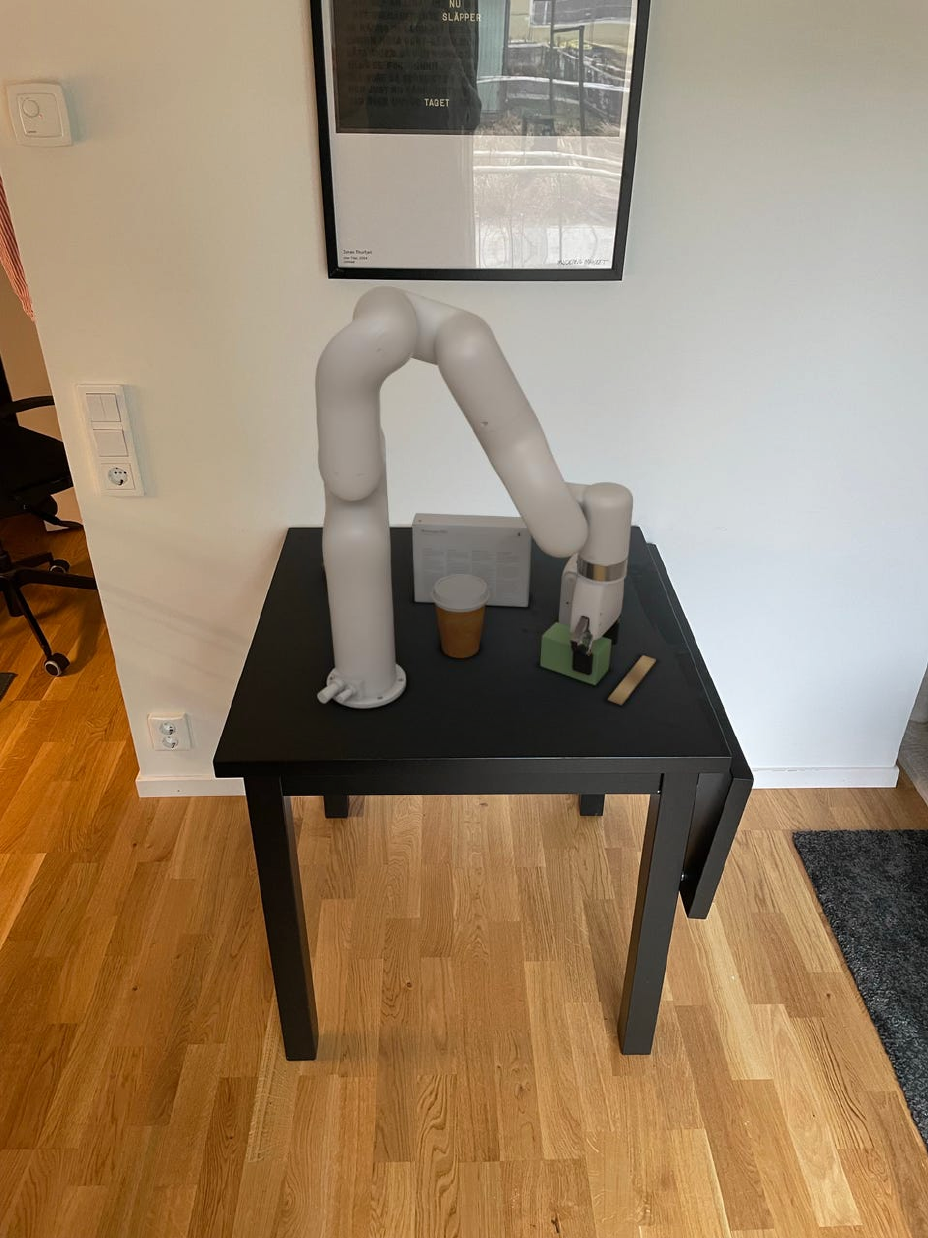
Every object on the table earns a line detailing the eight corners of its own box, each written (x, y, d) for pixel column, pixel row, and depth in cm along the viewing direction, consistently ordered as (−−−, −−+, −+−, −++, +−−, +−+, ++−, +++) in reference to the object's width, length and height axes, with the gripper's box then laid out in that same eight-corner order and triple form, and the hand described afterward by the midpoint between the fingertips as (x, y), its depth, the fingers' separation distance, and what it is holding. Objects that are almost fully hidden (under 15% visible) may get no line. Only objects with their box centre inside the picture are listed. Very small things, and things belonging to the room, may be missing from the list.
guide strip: (621, 705, 140) (622, 703, 140) (607, 700, 141) (607, 698, 141) (656, 661, 150) (656, 659, 150) (642, 656, 151) (642, 655, 151)
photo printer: (578, 631, 158) (583, 570, 151) (555, 626, 159) (559, 564, 152) (596, 603, 166) (602, 543, 159) (573, 598, 167) (578, 539, 160)
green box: (595, 685, 144) (598, 654, 141) (540, 666, 149) (541, 635, 146) (608, 670, 148) (611, 639, 145) (554, 651, 152) (556, 621, 149)
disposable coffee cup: (476, 627, 159) (476, 568, 152) (497, 656, 151) (498, 595, 145) (424, 638, 156) (423, 578, 149) (443, 668, 148) (442, 606, 142)
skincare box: (529, 593, 169) (532, 516, 160) (528, 608, 164) (531, 530, 156) (417, 587, 170) (415, 510, 162) (413, 602, 166) (410, 524, 157)
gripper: (603, 535, 144) (596, 625, 153) (553, 582, 132) (549, 677, 141) (647, 546, 141) (638, 637, 150) (600, 596, 128) (593, 692, 138)
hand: (595, 656), depth 145 cm, fingers open, 9 cm apart
